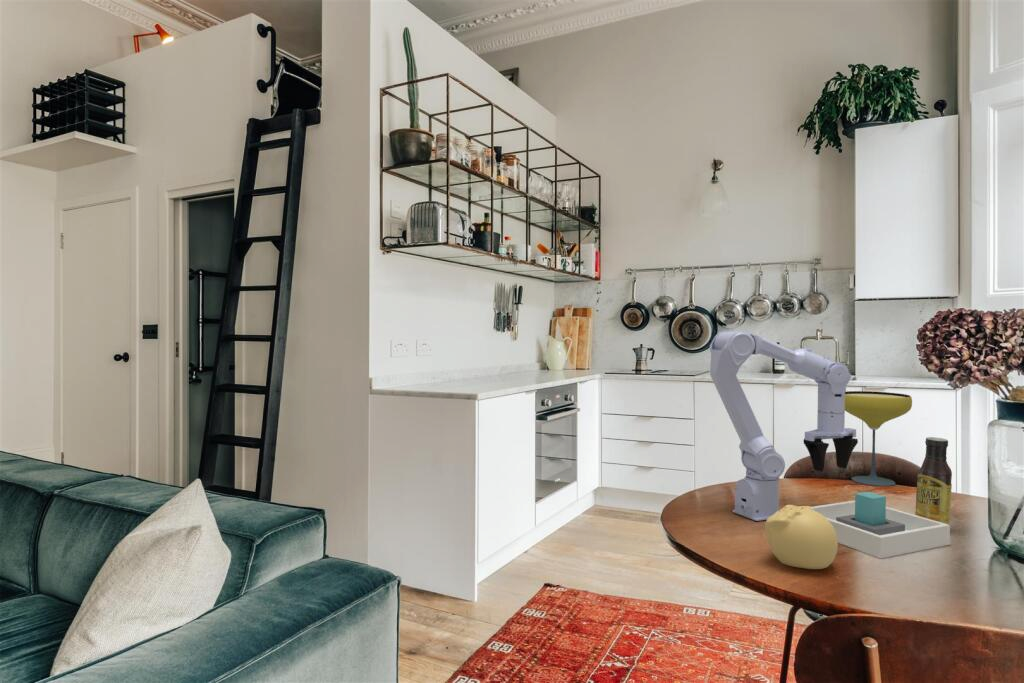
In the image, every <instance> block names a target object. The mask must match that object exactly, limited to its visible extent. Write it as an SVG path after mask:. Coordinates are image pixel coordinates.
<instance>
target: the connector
mask: <svg viewBox="0 0 1024 683" xmlns="http://www.w3.org/2000/svg"><path fill="white" fill-rule="evenodd" d="M854 496H855V497H854V500H855V521H858V522H861V523H864V524H867V525H870V526H878V525H883V524H886V507H887V497H886V495H882V494H877V493H874V492H871V491H866V492H859V493H855V494H854Z"/></svg>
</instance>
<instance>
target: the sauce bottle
mask: <svg viewBox="0 0 1024 683" xmlns="http://www.w3.org/2000/svg"><path fill="white" fill-rule="evenodd" d="M924 443H925V457H924V459H923V461H922V464H921V466H920V469H919V471H918V473H917V480H916V481H917V482H916V497H915V514H914V515H917V516H920V517H924V518H927V519H931V520H934V521H938V522H941V523H945V524H948V525H950V520H951V519H950V518H951V508H952V507H951V506H952V486H953V484H952V474H953V472H952V469H951V467H950V465H949V463H948V461H947V449H948V446H949V440H948V439H945V438H941V437H935V436H934V437H933V436H928V437H926V438H925V442H924Z"/></svg>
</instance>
